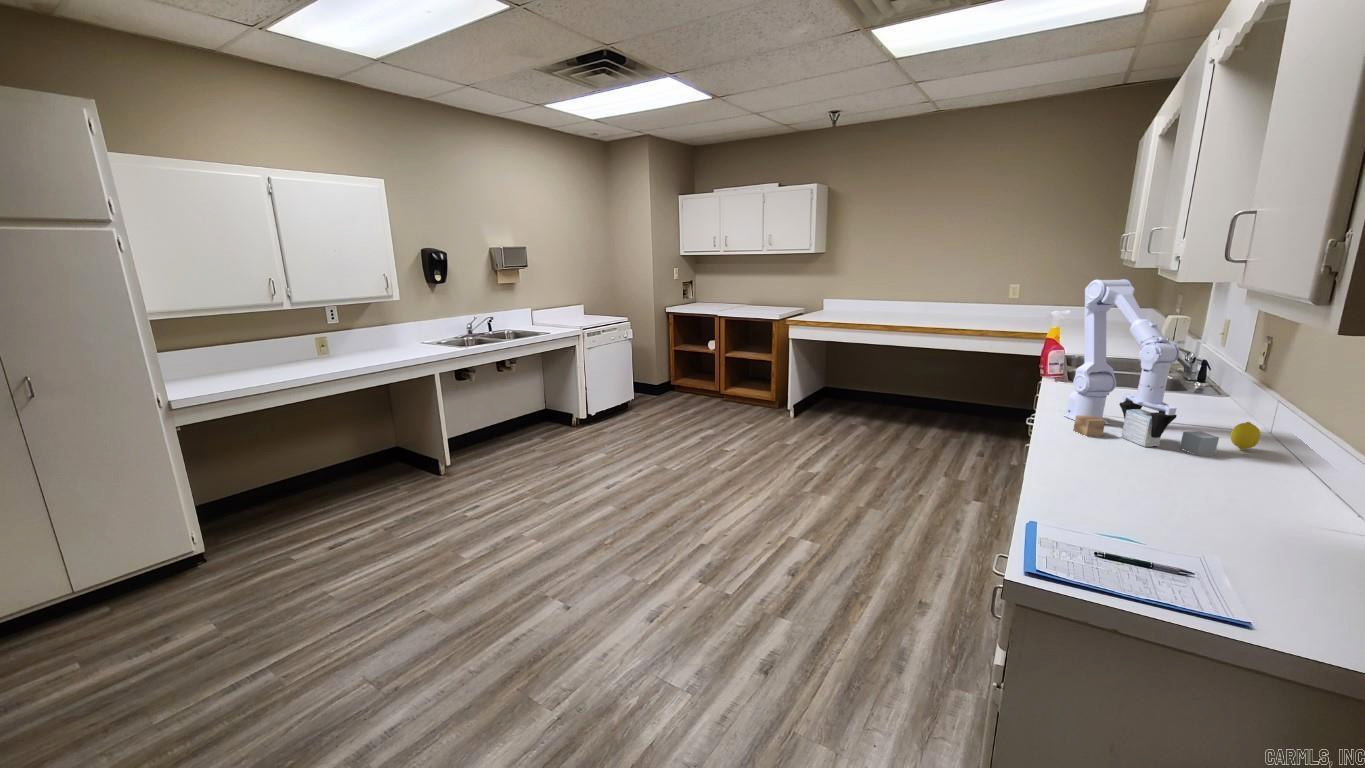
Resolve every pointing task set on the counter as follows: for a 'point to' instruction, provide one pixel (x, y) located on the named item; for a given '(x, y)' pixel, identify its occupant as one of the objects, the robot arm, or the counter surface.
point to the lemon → (1245, 435)
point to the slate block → (1199, 443)
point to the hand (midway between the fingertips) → (1142, 432)
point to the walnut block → (1089, 425)
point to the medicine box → (1139, 428)
